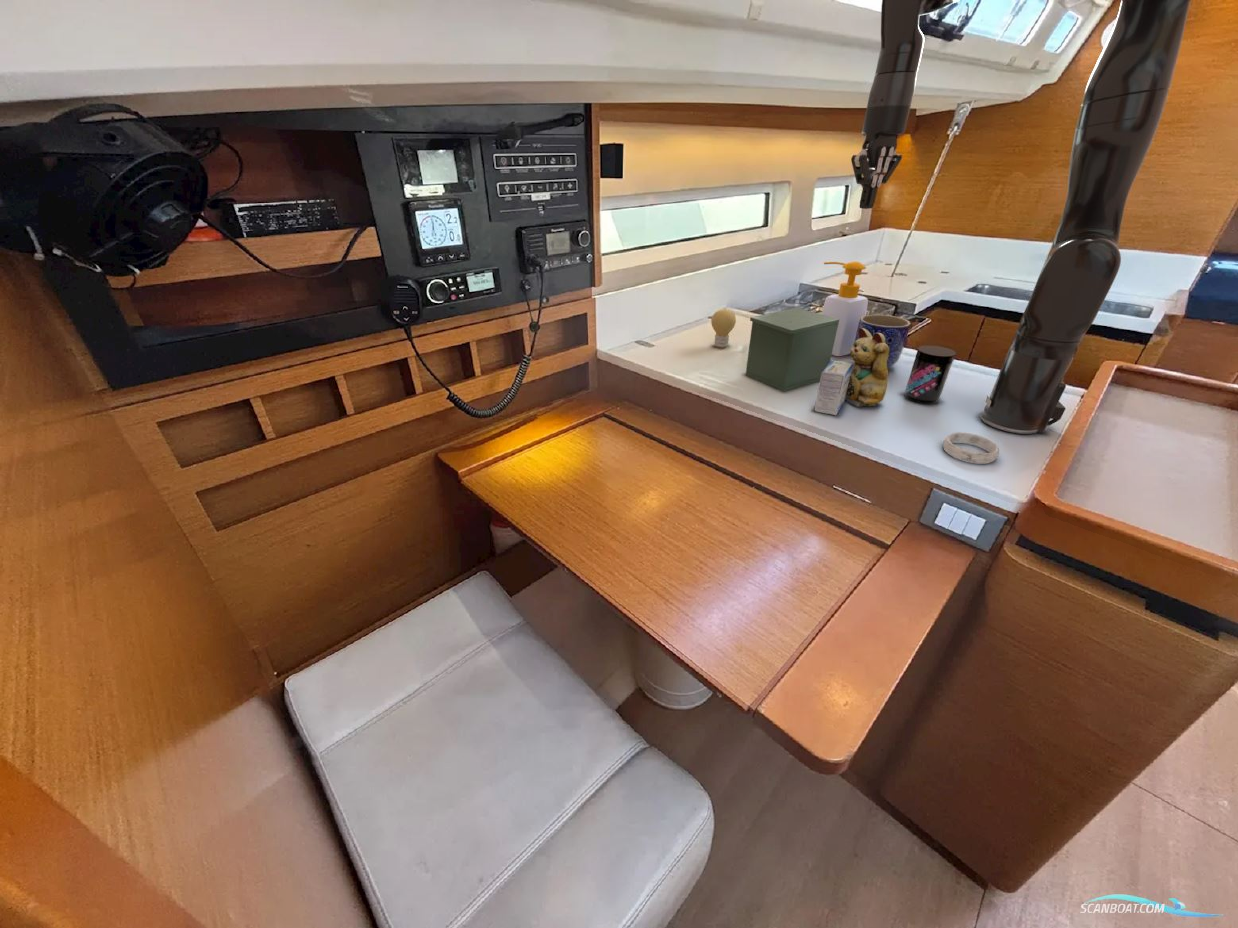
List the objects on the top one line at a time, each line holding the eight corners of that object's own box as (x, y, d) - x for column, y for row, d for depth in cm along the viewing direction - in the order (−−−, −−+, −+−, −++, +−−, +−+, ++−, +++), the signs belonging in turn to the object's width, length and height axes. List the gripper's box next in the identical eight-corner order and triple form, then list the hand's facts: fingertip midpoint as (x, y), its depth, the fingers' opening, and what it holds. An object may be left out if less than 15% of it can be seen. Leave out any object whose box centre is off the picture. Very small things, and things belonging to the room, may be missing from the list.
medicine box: (836, 416, 99) (846, 375, 94) (813, 411, 101) (821, 371, 96) (844, 402, 105) (854, 362, 100) (822, 397, 107) (830, 359, 102)
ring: (971, 439, 90) (975, 430, 89) (1008, 462, 83) (1012, 452, 82) (931, 443, 89) (934, 433, 88) (964, 466, 82) (969, 456, 81)
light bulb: (737, 346, 137) (741, 309, 132) (724, 351, 133) (728, 314, 128) (717, 341, 140) (721, 305, 135) (704, 346, 137) (707, 309, 131)
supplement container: (898, 391, 109) (912, 345, 104) (930, 392, 109) (946, 345, 103) (911, 404, 103) (926, 356, 98) (945, 405, 103) (962, 356, 97)
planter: (907, 370, 120) (922, 324, 114) (871, 376, 117) (884, 329, 111) (873, 356, 129) (885, 312, 123) (839, 361, 125) (849, 317, 120)
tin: (783, 391, 110) (793, 333, 103) (745, 374, 118) (752, 320, 112) (826, 379, 116) (838, 323, 109) (787, 363, 125) (796, 311, 118)
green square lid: (791, 334, 102) (791, 330, 102) (749, 320, 111) (750, 317, 111) (838, 323, 109) (839, 319, 108) (796, 311, 118) (796, 307, 117)
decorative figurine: (830, 395, 108) (845, 326, 100) (859, 389, 110) (877, 321, 103) (863, 412, 100) (883, 339, 92) (894, 406, 103) (916, 334, 95)
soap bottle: (820, 338, 142) (837, 255, 130) (862, 352, 131) (885, 262, 120) (796, 344, 137) (812, 258, 126) (838, 358, 127) (859, 266, 116)
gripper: (885, 102, 88) (861, 211, 97) (928, 104, 94) (902, 208, 103) (848, 105, 93) (829, 209, 102) (892, 108, 99) (870, 205, 108)
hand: (865, 208), depth 102 cm, fingers closed
